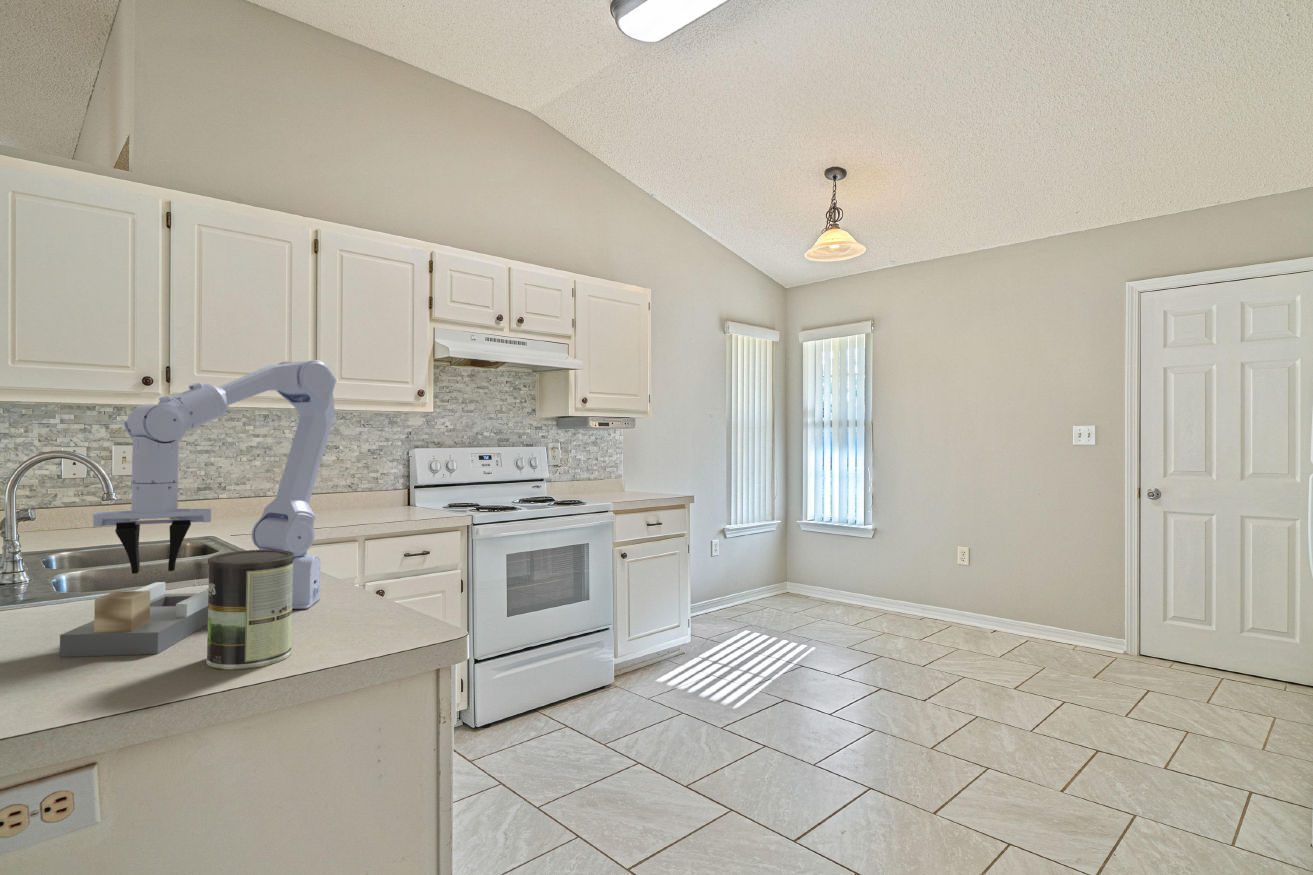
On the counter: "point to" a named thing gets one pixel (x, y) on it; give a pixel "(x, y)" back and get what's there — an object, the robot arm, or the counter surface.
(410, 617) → the counter surface
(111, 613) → the block
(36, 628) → the counter surface
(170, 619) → the grey railed base
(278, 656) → the coffee can
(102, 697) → the counter surface
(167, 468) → the robot arm
